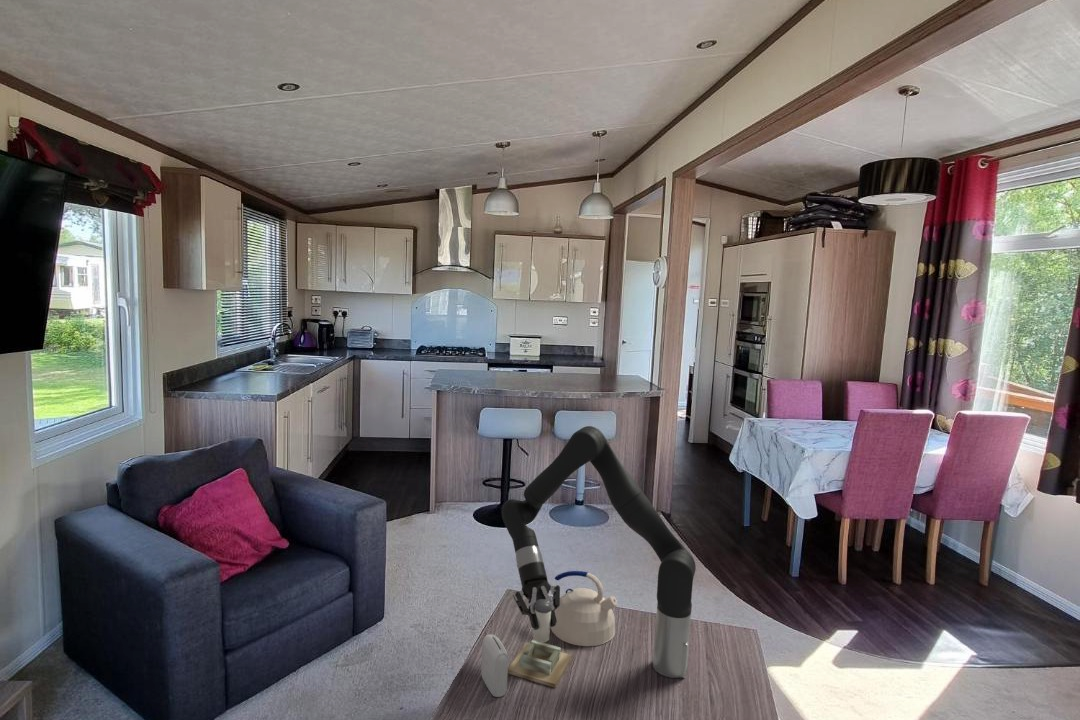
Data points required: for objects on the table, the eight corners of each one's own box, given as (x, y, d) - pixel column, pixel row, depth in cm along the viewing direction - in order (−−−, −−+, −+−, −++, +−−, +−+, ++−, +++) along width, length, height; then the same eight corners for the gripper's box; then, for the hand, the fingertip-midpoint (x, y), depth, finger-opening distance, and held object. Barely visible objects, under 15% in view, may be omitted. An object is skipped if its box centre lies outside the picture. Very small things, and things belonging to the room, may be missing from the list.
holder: (572, 658, 165) (573, 645, 165) (555, 687, 152) (556, 673, 152) (526, 645, 170) (527, 632, 170) (506, 672, 157) (507, 658, 157)
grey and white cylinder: (551, 635, 162) (553, 601, 161) (545, 644, 158) (548, 609, 157) (536, 631, 163) (539, 597, 162) (530, 639, 159) (533, 605, 158)
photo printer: (478, 675, 156) (480, 631, 155) (493, 671, 158) (496, 628, 156) (492, 699, 147) (495, 653, 145) (508, 695, 149) (511, 649, 147)
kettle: (603, 655, 168) (607, 595, 166) (538, 634, 177) (541, 577, 175) (624, 622, 186) (628, 567, 184) (565, 604, 195) (568, 552, 193)
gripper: (511, 563, 163) (525, 628, 153) (557, 557, 168) (573, 619, 159) (503, 573, 168) (516, 636, 158) (548, 567, 174) (563, 627, 164)
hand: (545, 627), depth 158 cm, fingers closed on grey and white cylinder, 4 cm apart
